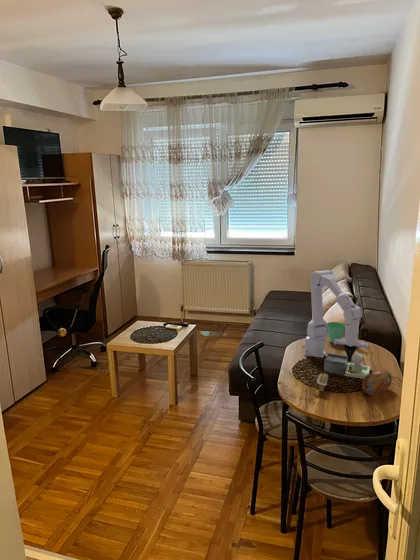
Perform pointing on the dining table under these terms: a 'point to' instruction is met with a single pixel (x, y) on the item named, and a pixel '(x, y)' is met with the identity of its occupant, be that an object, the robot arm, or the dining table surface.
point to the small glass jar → (322, 381)
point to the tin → (376, 382)
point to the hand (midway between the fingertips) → (349, 360)
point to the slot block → (335, 363)
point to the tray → (363, 374)
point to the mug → (335, 330)
